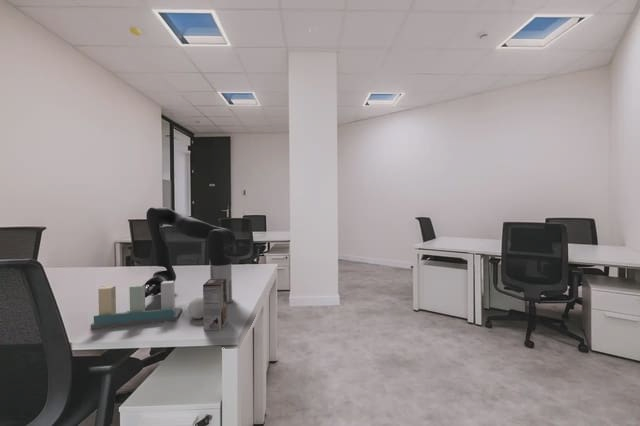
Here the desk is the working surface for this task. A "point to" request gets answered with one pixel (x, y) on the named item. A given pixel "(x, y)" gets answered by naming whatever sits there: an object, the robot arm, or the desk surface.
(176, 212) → the robot arm
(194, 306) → the ball
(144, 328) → the desk surface
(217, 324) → the coffee box
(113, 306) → the block
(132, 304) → the key sage
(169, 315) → the keypad base
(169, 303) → the light grey tall block
